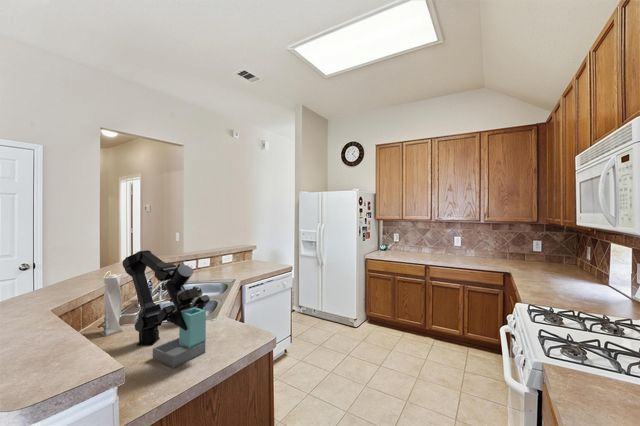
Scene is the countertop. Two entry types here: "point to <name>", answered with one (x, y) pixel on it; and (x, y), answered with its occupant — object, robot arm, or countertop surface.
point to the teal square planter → (193, 328)
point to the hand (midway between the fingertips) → (195, 326)
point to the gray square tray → (176, 353)
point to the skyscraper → (112, 304)
